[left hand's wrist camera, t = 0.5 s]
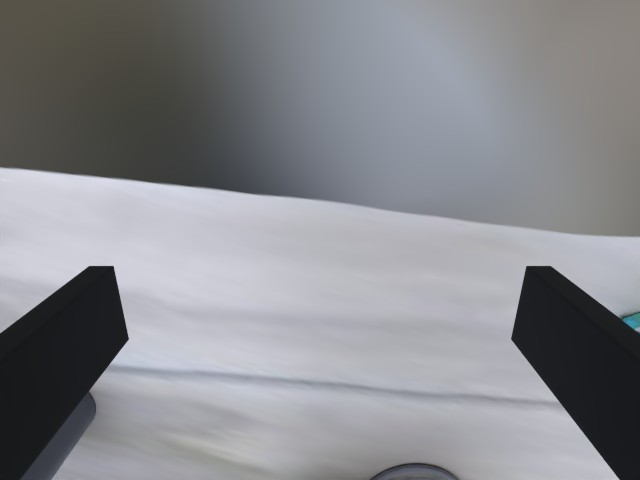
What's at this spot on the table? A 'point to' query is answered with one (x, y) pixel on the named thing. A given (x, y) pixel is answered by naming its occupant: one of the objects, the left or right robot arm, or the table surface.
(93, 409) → the jar
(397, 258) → the table surface
